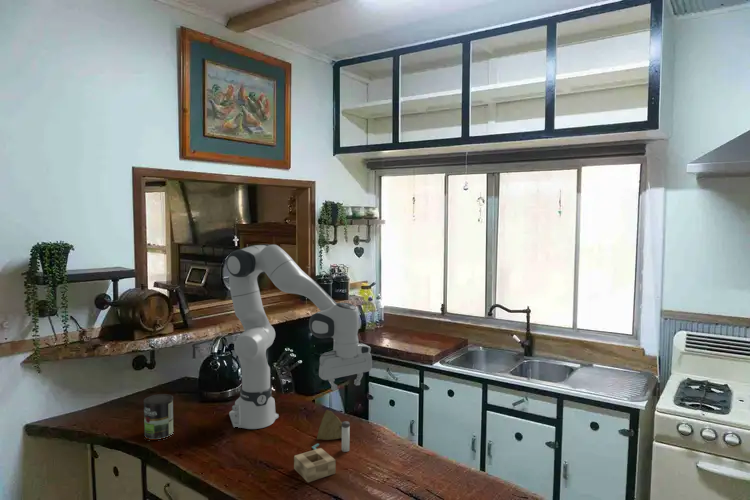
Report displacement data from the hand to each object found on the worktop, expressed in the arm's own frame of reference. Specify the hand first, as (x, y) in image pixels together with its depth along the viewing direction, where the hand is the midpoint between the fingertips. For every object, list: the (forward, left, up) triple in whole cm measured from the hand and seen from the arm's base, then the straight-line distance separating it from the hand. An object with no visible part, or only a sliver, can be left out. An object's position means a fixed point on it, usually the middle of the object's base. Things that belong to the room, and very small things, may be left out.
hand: (345, 387), depth 175 cm
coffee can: (-49, -53, -23) cm, 76 cm away
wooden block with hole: (+7, -16, -23) cm, 29 cm away
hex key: (-3, -8, -23) cm, 24 cm away
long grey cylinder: (0, 0, -23) cm, 23 cm away
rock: (-11, +1, -23) cm, 26 cm away
